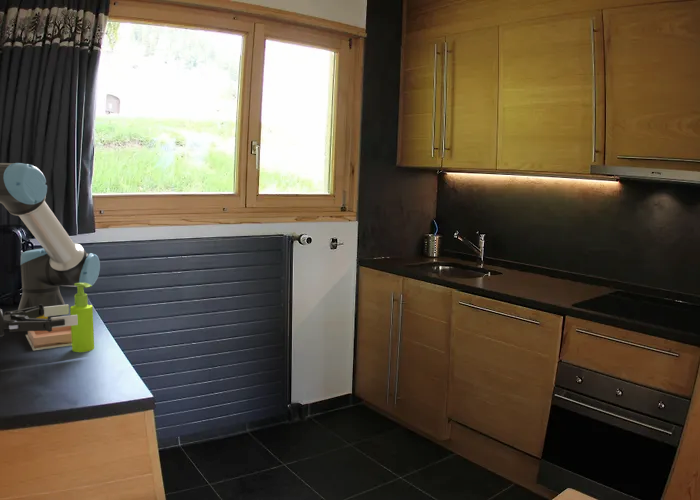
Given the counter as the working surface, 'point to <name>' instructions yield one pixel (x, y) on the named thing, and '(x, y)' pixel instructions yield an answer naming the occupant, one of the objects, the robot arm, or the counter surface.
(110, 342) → the counter surface
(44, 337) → the dish
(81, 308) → the soap dispenser
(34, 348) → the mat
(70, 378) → the counter surface
